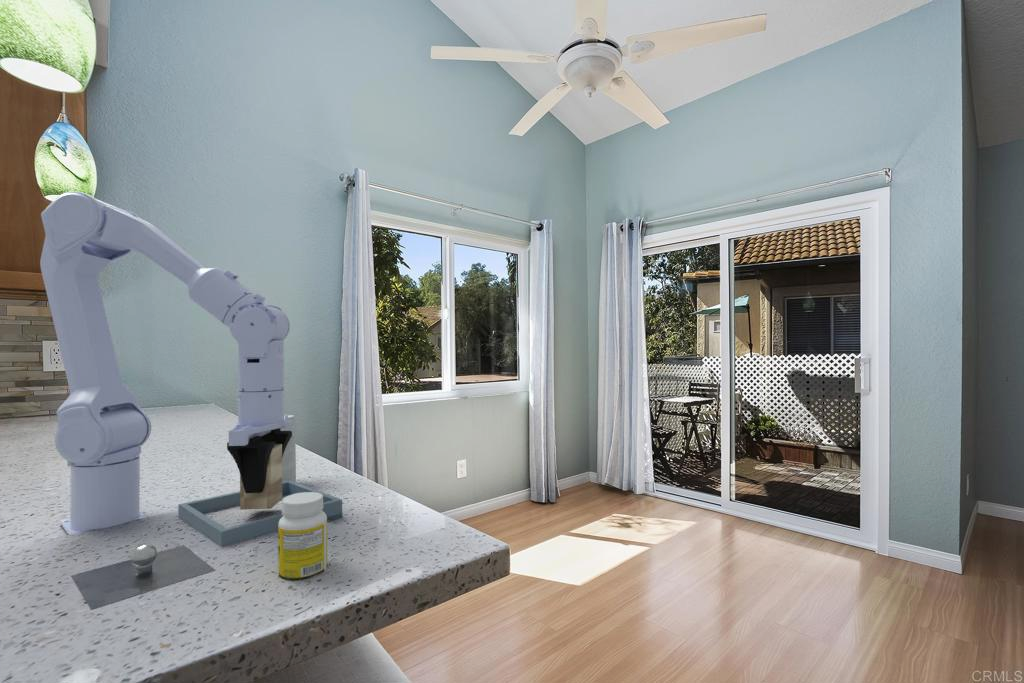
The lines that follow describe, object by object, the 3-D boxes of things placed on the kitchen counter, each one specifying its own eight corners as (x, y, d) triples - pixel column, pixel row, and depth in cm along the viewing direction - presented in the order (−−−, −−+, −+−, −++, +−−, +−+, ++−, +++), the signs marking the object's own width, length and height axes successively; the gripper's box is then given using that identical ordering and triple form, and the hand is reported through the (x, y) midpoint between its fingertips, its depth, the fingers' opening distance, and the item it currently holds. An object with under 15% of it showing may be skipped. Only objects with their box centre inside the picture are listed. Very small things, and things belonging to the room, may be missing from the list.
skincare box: (274, 481, 88) (274, 414, 88) (296, 482, 87) (296, 415, 87) (252, 491, 82) (252, 419, 82) (275, 492, 81) (275, 420, 81)
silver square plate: (71, 583, 50) (71, 547, 50) (183, 551, 58) (183, 520, 58) (91, 618, 44) (91, 576, 44) (215, 577, 51) (215, 542, 51)
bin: (178, 522, 68) (178, 504, 68) (290, 495, 79) (290, 480, 79) (221, 553, 57) (221, 531, 57) (342, 517, 69) (342, 499, 69)
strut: (240, 509, 66) (240, 450, 66) (253, 500, 70) (253, 444, 70) (270, 508, 67) (270, 450, 67) (282, 499, 71) (282, 443, 71)
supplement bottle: (292, 566, 54) (291, 490, 54) (334, 567, 54) (334, 490, 54) (269, 588, 49) (269, 504, 49) (315, 589, 49) (315, 504, 49)
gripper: (269, 395, 62) (269, 503, 62) (308, 385, 76) (308, 473, 76) (211, 395, 61) (211, 504, 61) (261, 386, 76) (260, 474, 75)
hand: (261, 487), depth 68 cm, fingers closed on strut, 4 cm apart
